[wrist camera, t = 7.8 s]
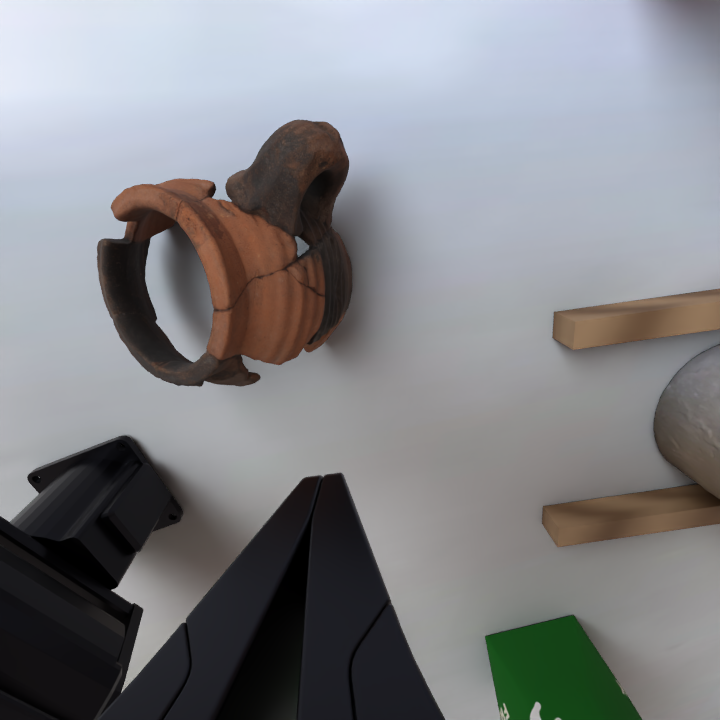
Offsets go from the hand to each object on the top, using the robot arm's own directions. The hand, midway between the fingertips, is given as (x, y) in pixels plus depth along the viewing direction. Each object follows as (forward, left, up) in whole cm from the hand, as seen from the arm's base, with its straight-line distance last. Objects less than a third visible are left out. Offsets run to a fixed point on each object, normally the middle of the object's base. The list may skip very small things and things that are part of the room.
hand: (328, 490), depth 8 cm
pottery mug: (-2, +4, -14) cm, 14 cm away
